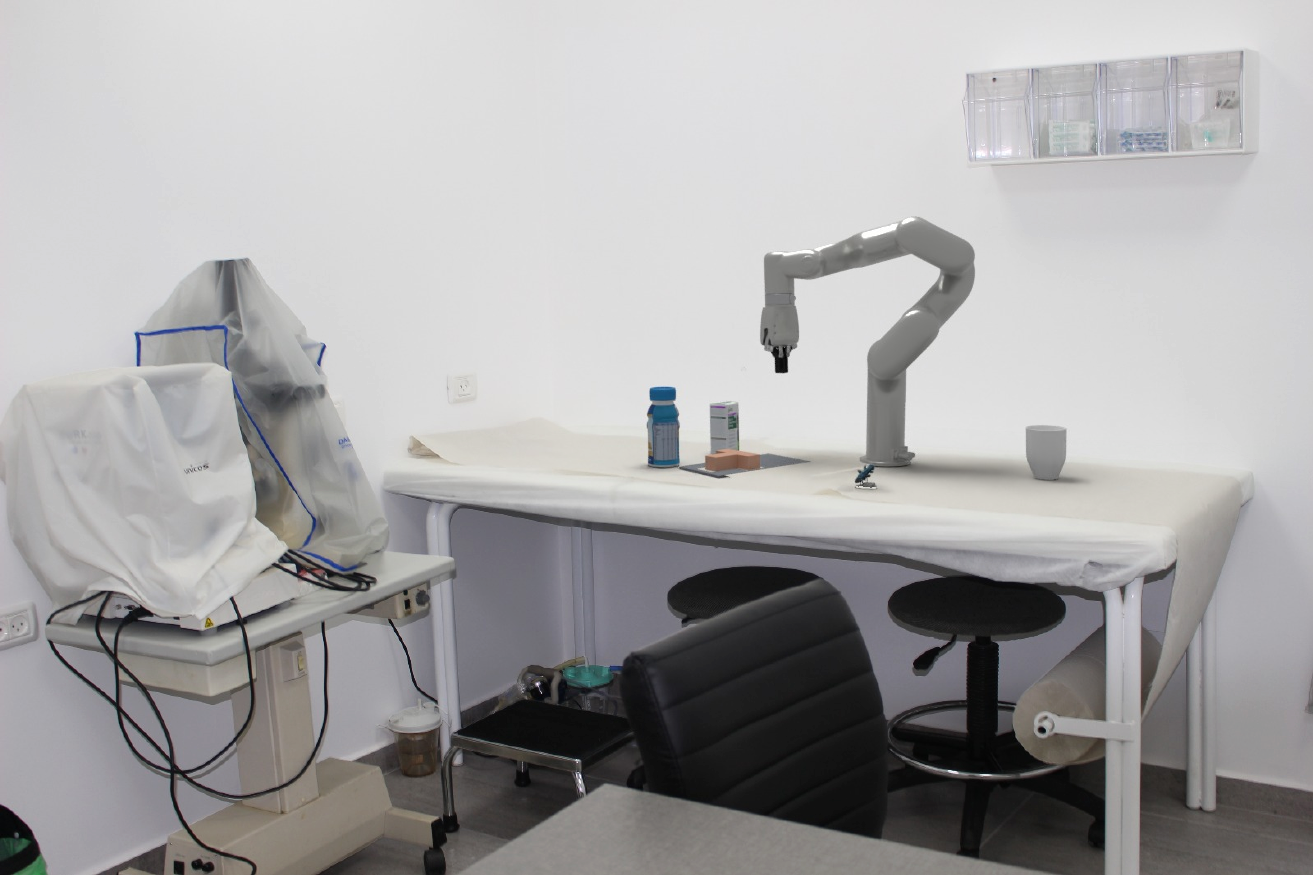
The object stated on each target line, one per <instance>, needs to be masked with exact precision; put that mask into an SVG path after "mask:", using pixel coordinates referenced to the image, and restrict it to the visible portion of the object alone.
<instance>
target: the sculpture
mask: <svg viewBox="0 0 1313 875" xmlns="http://www.w3.org/2000/svg"><path fill="white" fill-rule="evenodd" d="M875 467H876V466H875V465H873V464H868V466H867V465H865V464H864V466H863V470H860V469H857V472H858V475H857V476H856V478H855V479H854V483H855V487H856V486H858V487H859V486H863V487H870V488H872V487H877V485H876V483H875V481H873V482H872V481H871V482H870V481H869V480H868V479H869V478H871V474H874V473H875V472H874V471H875ZM864 481H865V482H864ZM868 481H869V482H868ZM877 488H878V487H877Z"/></svg>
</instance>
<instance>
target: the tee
mask: <svg viewBox="0 0 1313 875" xmlns="http://www.w3.org/2000/svg"><path fill="white" fill-rule="evenodd" d="M760 455H761V454H759V453H754V452H748V451H742V450H739V451H738V450H732V449H722V450H716V454H707V455H704V463H705V468H704V469H705V470H706V471H711V472H715V471H721V470H728V469H734V468H738V469H743V470H753V469H759V468H761V467H760Z"/></svg>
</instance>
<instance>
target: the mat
mask: <svg viewBox="0 0 1313 875" xmlns="http://www.w3.org/2000/svg"><path fill="white" fill-rule="evenodd" d="M810 462H811V460H805V459H800V458H795V457H791V456H790V457H789V456H783V455H779V454H773V453H762V454H760V468H757V469H751V470H746V469H741V468H733V469H727V470H721V471H710V470H703V469H705V462H701V463H693V464H688V465H681V466H679V465H678V470H682V471H685V472H687V471H688V472H689V473H694V472H695V473H694V474H699V475H703V476H708V477H713V478H715V479H724V478H729V477H730V475H734V474H741V473H746V472H752V471H753V472H754V471H759V470H766V469H771V468H778V467H784V466H791V465H797V464H803V463H810ZM702 468H703V469H702Z"/></svg>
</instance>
